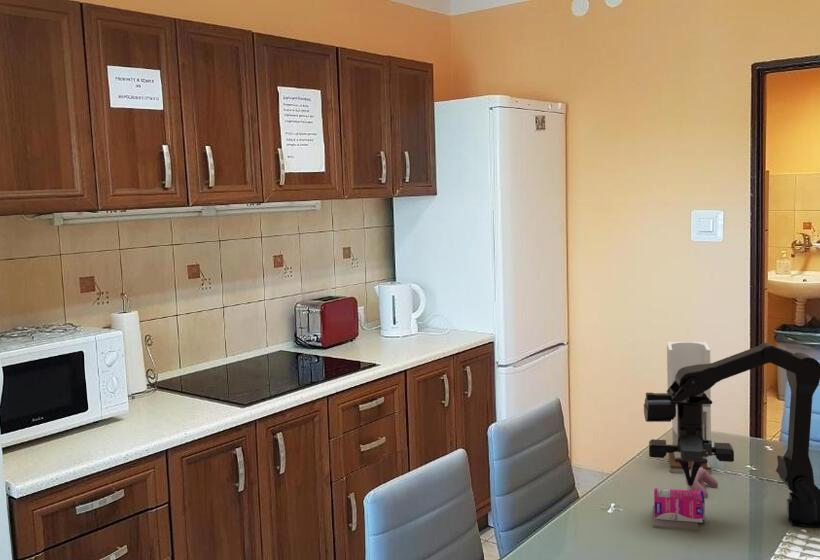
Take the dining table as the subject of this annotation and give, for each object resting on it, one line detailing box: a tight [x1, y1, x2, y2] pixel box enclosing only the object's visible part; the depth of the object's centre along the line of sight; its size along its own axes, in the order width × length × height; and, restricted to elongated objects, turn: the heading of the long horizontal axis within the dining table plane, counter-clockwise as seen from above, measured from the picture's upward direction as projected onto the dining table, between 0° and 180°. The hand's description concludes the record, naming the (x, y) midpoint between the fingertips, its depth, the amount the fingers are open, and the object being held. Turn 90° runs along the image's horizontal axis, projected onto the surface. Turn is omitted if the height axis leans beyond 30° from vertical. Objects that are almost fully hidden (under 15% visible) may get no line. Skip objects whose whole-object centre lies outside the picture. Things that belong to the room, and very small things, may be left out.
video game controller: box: [685, 467, 719, 499], centre depth 202 cm, size 10×5×7 cm, turn 141°
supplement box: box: [653, 488, 706, 524], centre depth 185 cm, size 6×6×12 cm
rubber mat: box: [652, 504, 699, 532], centre depth 185 cm, size 10×12×1 cm
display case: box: [666, 341, 712, 475], centre depth 218 cm, size 11×11×35 cm
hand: (690, 485), depth 183 cm, fingers closed
